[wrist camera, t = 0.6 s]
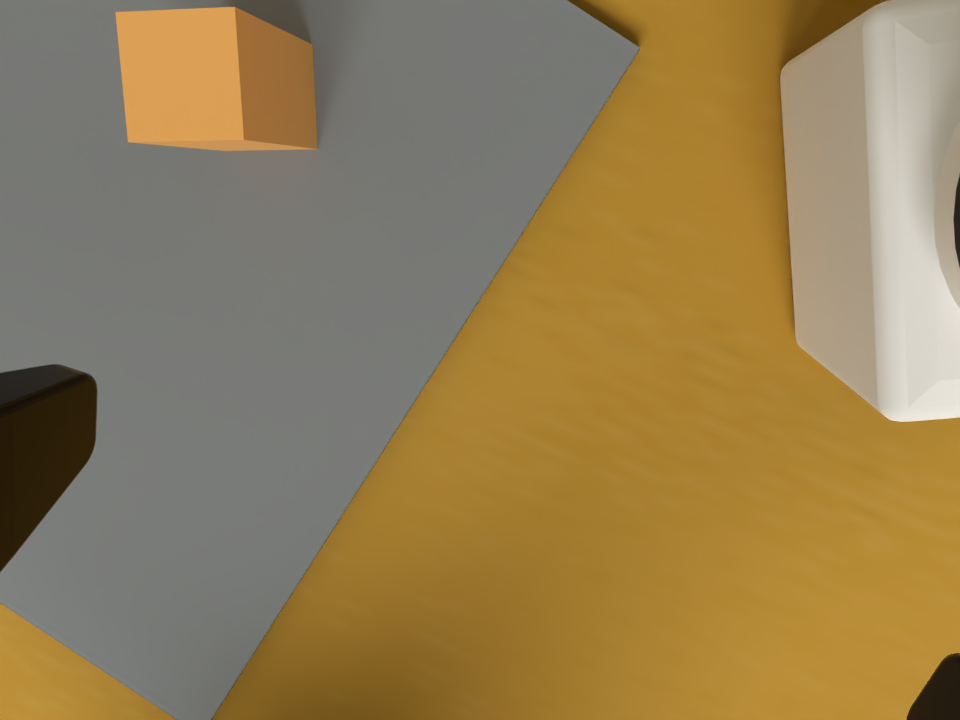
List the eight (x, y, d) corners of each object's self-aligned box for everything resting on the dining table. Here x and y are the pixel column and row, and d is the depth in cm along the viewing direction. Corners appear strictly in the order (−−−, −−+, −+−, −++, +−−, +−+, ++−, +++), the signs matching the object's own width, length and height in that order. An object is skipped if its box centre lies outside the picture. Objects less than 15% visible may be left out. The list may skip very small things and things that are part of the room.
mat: (206, 727, 26) (200, 735, 26) (-415, 317, 26) (-430, 319, 26) (639, 50, 20) (640, 48, 20) (-168, -477, 20) (-183, -490, 20)
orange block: (317, 149, 22) (243, 139, 17) (223, 150, 22) (128, 142, 17) (312, 44, 21) (234, 6, 17) (216, 47, 21) (114, 11, 17)
